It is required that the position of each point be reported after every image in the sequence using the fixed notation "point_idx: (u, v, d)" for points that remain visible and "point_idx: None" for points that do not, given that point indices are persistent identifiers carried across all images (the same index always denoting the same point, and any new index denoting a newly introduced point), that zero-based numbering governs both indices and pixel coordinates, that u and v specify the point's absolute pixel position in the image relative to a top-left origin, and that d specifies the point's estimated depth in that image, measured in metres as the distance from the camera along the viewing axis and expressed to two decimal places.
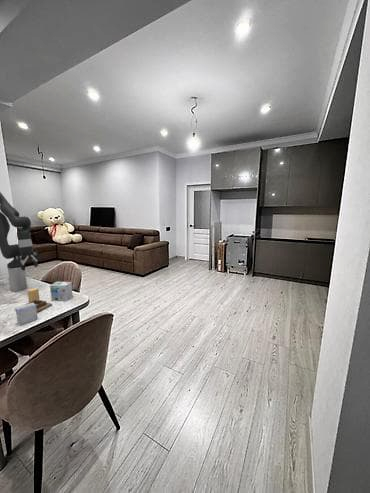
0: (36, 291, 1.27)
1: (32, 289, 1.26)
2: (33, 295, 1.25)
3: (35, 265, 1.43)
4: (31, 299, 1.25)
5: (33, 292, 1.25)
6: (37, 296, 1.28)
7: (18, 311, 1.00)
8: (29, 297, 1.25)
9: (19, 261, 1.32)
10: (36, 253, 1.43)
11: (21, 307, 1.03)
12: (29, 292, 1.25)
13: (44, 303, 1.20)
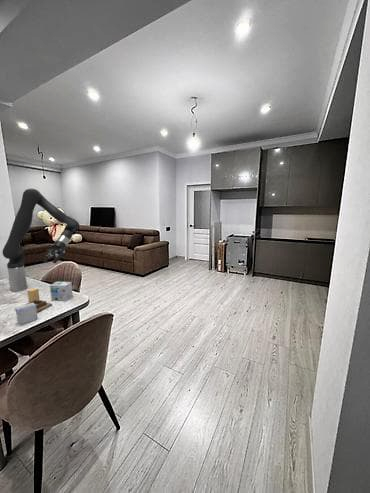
0: (36, 291, 1.27)
1: (32, 289, 1.26)
2: (33, 295, 1.25)
3: (45, 260, 1.38)
4: (31, 299, 1.25)
5: (33, 292, 1.25)
6: (37, 296, 1.28)
7: (18, 311, 1.00)
8: (29, 297, 1.25)
9: None
10: None
11: (21, 307, 1.03)
12: (29, 292, 1.25)
13: (44, 303, 1.20)
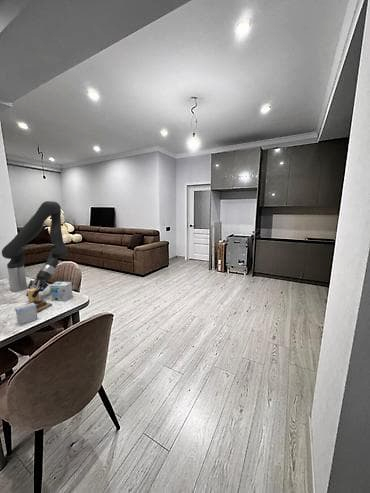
0: None
1: (32, 289, 1.26)
2: None
3: None
4: (31, 299, 1.25)
5: (33, 292, 1.25)
6: (37, 296, 1.28)
7: (18, 311, 1.00)
8: (29, 297, 1.25)
9: None
10: None
11: (21, 307, 1.03)
12: (29, 292, 1.25)
13: (44, 303, 1.20)
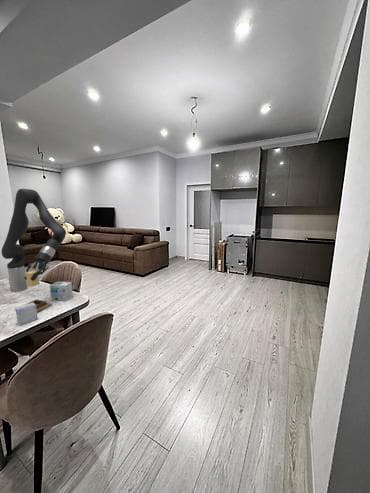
0: None
1: (31, 272, 1.16)
2: None
3: None
4: (30, 282, 1.15)
5: (32, 275, 1.15)
6: (36, 279, 1.17)
7: (18, 311, 1.00)
8: (28, 280, 1.15)
9: None
10: None
11: (21, 307, 1.03)
12: (28, 275, 1.14)
13: (44, 303, 1.20)
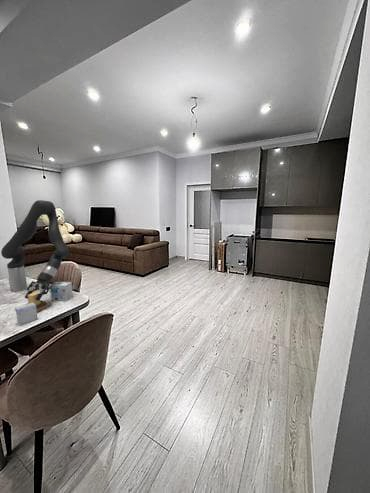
0: None
1: (33, 294, 1.17)
2: (34, 300, 1.15)
3: None
4: None
5: (34, 297, 1.15)
6: (38, 301, 1.18)
7: (18, 311, 1.00)
8: (30, 302, 1.16)
9: None
10: None
11: (21, 307, 1.03)
12: (29, 297, 1.15)
13: (44, 303, 1.20)
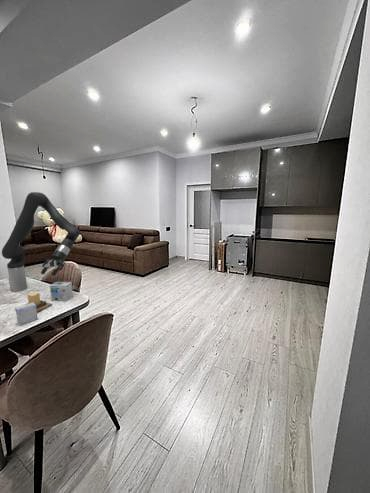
0: (37, 296, 1.17)
1: (33, 294, 1.17)
2: (34, 300, 1.15)
3: (43, 272, 1.26)
4: None
5: (34, 297, 1.15)
6: (38, 301, 1.18)
7: (18, 311, 1.00)
8: (30, 302, 1.16)
9: None
10: None
11: (21, 307, 1.03)
12: (29, 297, 1.15)
13: (44, 303, 1.20)
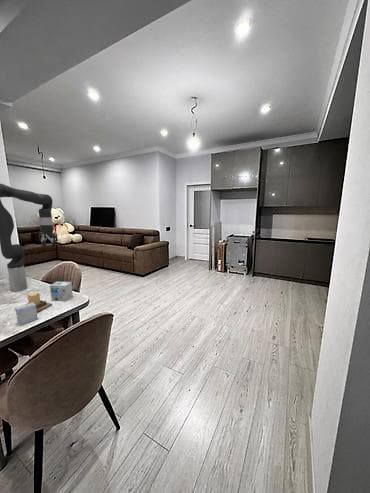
0: (37, 296, 1.17)
1: (33, 294, 1.17)
2: (34, 300, 1.15)
3: (44, 245, 1.40)
4: None
5: (34, 297, 1.15)
6: (38, 301, 1.18)
7: (18, 311, 1.00)
8: (30, 302, 1.16)
9: None
10: None
11: (21, 307, 1.03)
12: (29, 297, 1.15)
13: (44, 303, 1.20)
